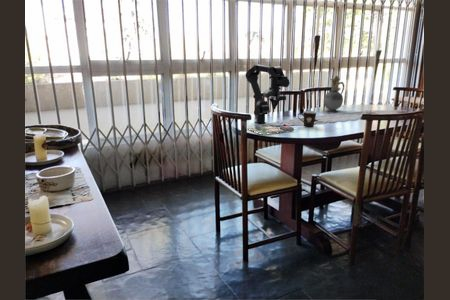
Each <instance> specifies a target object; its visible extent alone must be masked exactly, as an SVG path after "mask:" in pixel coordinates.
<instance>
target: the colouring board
mask: <svg viewBox="0 0 450 300" xmlns="http://www.w3.org/2000/svg"><path fill="white" fill-rule="evenodd" d="M262 126H263V127H265V128H266V131H265V132H262V131H259V130H257V129H255V127H248V128H247V130H248V129H250V130H252V131H255V132H258V133H261V134H267V133H275V134H278V133H277V132H283V133H285V132H284V130H281V129H280V128H277V127H275V126H272V125H266V126H265V125H262ZM252 131H251V132H252Z"/></svg>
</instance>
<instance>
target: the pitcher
mask: <svg viewBox="0 0 450 300" xmlns="http://www.w3.org/2000/svg"><path fill="white" fill-rule="evenodd" d="M340 80H341V77H339V76H338V75H334V78H330V79H329V81H331V89H330V91H329V92H327V93H326V94H325V95H324V98H323V105H324V107H325V108H326V109H327V112H330V113H336V112H338V109H340V108H341V107H342V105H343V102H344V97H343V95H342V94H344V93H343V92H344V90H345V83H344V82H343V81H340ZM339 85H342V90H341V92H338V88H339Z"/></svg>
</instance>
